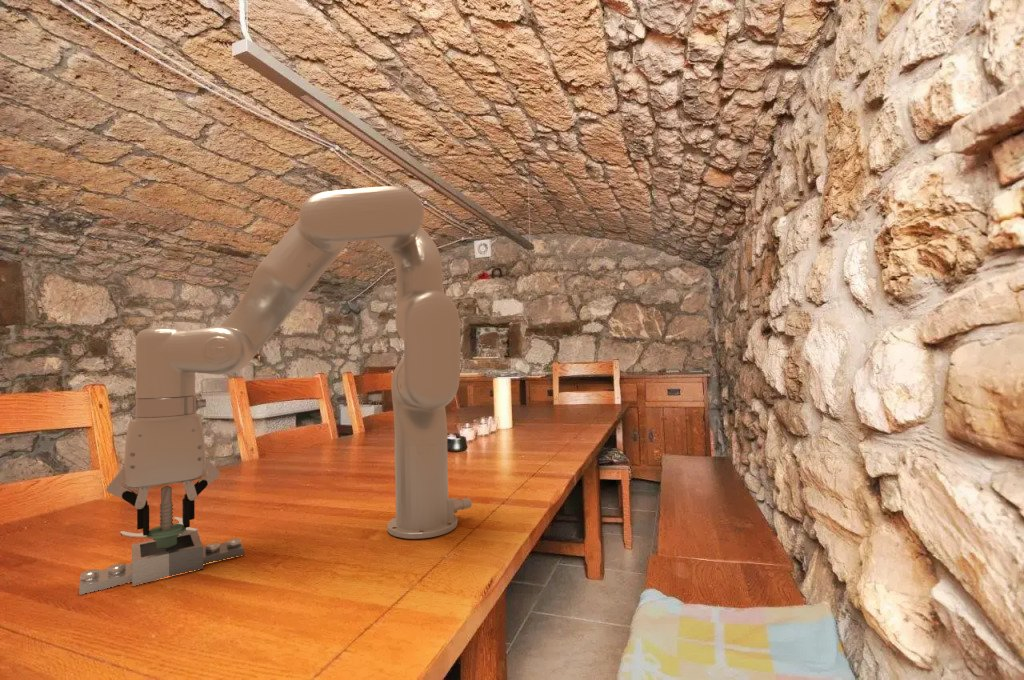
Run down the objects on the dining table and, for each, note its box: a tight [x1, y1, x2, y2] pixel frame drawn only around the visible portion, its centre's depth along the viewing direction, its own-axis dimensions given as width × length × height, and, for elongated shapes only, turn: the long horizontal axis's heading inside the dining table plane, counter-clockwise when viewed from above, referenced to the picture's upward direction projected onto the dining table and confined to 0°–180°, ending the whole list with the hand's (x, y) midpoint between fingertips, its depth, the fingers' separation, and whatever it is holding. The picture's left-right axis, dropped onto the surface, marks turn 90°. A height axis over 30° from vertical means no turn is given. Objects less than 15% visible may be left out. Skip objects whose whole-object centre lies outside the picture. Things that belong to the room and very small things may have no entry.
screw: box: [146, 485, 186, 548], centre depth 76 cm, size 9×5×5 cm
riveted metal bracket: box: [78, 531, 245, 596], centre depth 76 cm, size 20×8×4 cm, turn 128°
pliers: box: [119, 516, 199, 537], centre depth 92 cm, size 10×2×15 cm
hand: (166, 527), depth 76 cm, fingers closed on screw, 4 cm apart
